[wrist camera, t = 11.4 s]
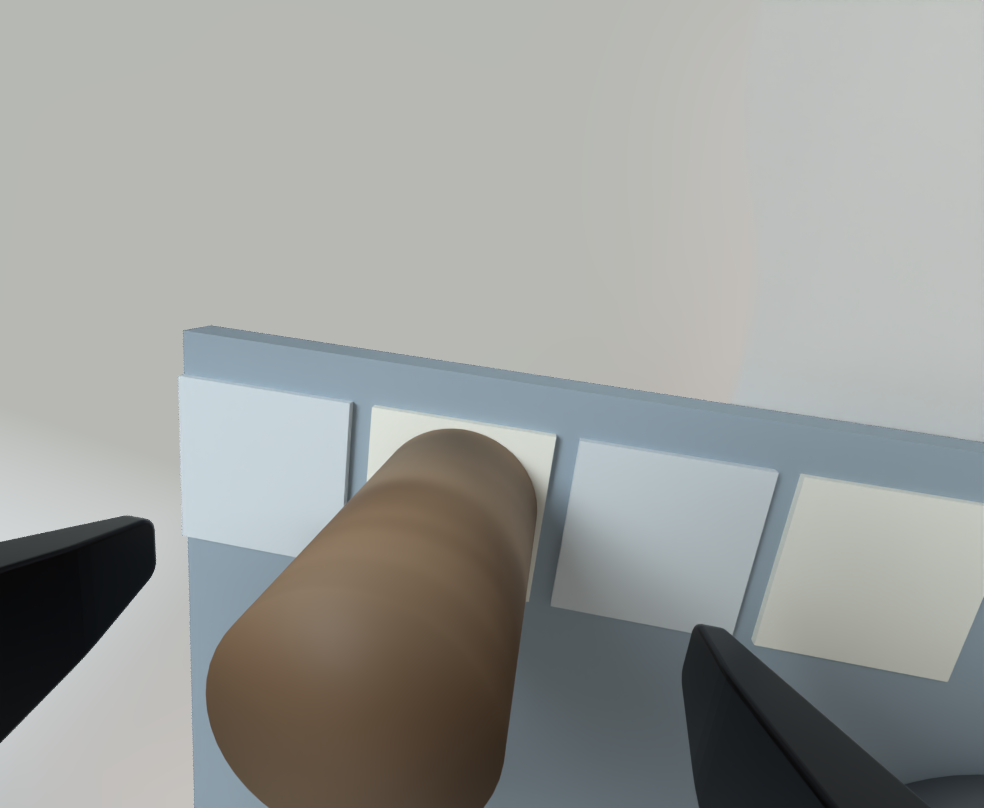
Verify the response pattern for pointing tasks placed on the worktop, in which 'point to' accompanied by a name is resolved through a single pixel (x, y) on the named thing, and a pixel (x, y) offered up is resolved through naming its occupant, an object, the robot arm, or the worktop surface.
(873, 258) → the worktop surface
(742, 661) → the robot arm
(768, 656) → the board
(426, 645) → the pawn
